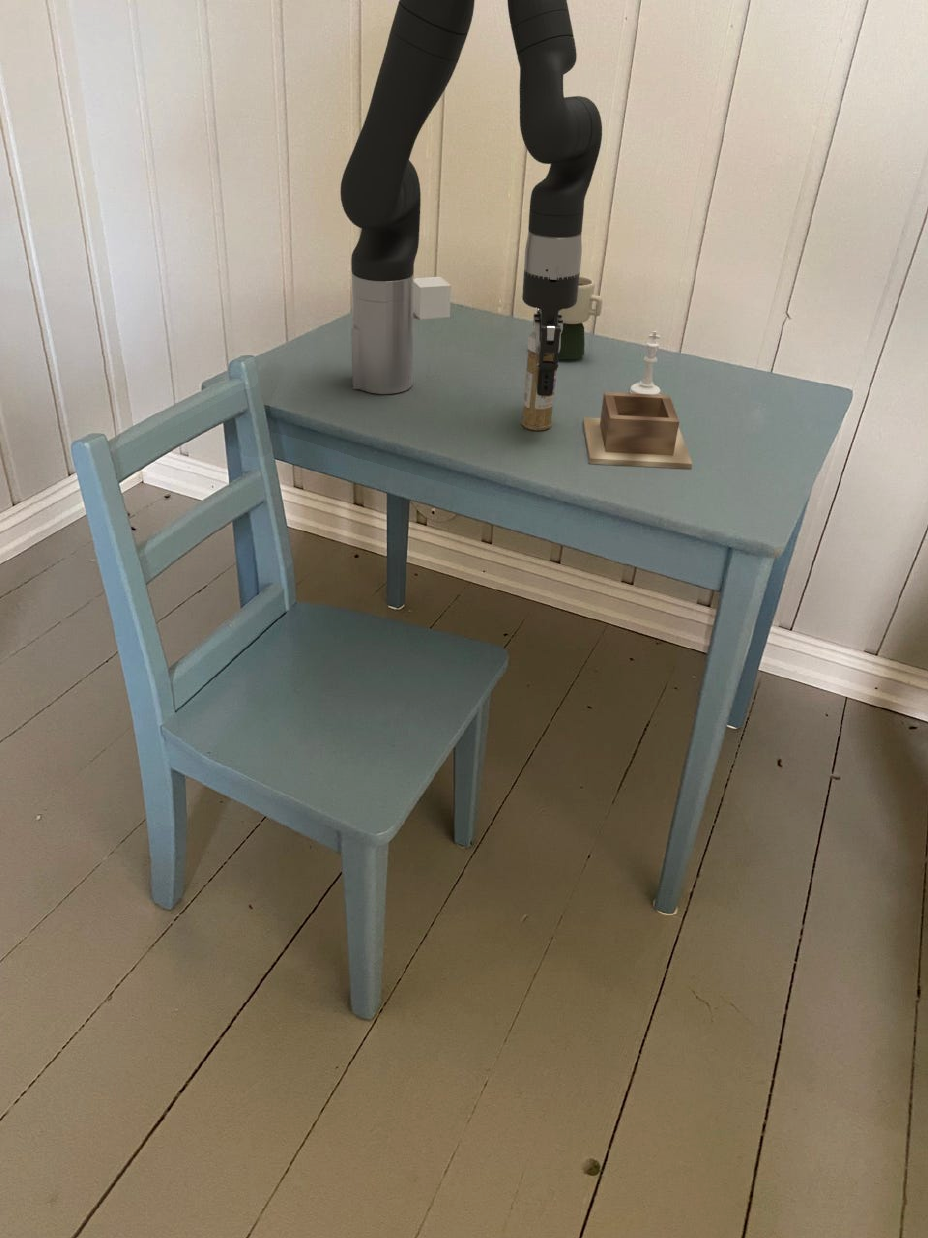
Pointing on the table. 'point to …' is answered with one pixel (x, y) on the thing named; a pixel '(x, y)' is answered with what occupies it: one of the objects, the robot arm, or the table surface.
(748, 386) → the table surface
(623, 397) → the socket
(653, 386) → the chess piece
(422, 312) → the white cube
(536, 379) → the sprinkles bottle
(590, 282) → the character mug
